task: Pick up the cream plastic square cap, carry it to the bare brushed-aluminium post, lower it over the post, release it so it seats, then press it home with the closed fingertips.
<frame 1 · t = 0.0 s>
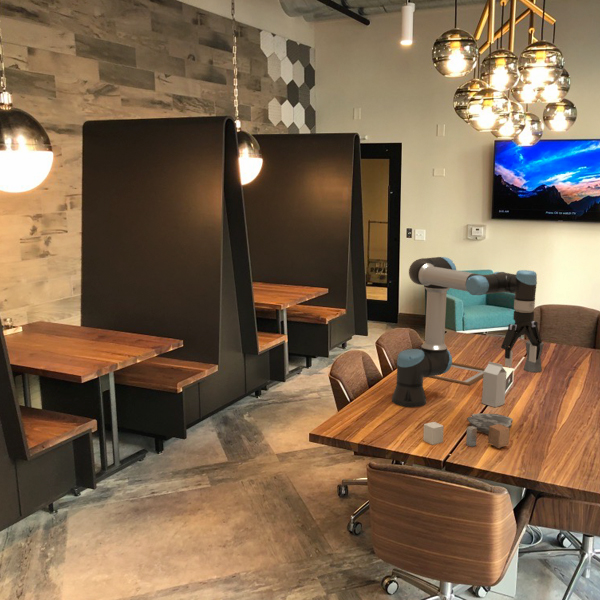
hand: (520, 364, 260), 28 cm above the table, fingers open, 13 cm apart
tan brown block: (498, 446, 250), on the table
coffeepot: (533, 371, 351), on the table
milk carton: (493, 404, 298), on the table
cap: (433, 441, 255), on the table
brain slice: (488, 428, 270), on the table
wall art: (447, 373, 347), on the table
post: (471, 445, 251), on the table
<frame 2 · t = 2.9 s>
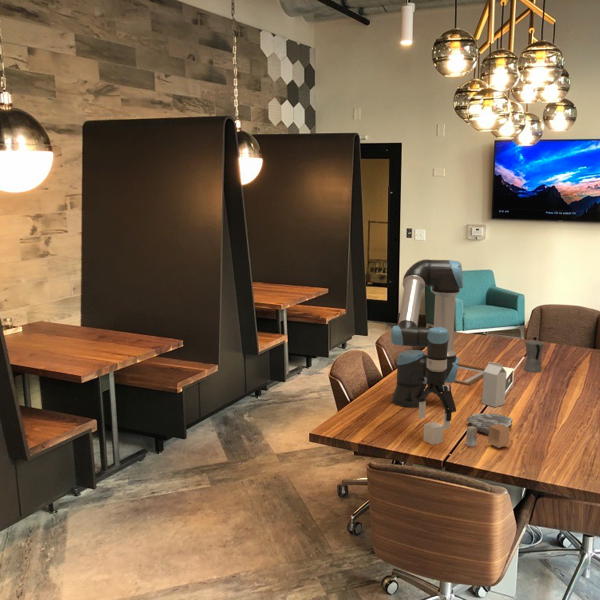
hand: (433, 423, 253), 7 cm above the table, fingers open, 13 cm apart
nothing on the table moved.
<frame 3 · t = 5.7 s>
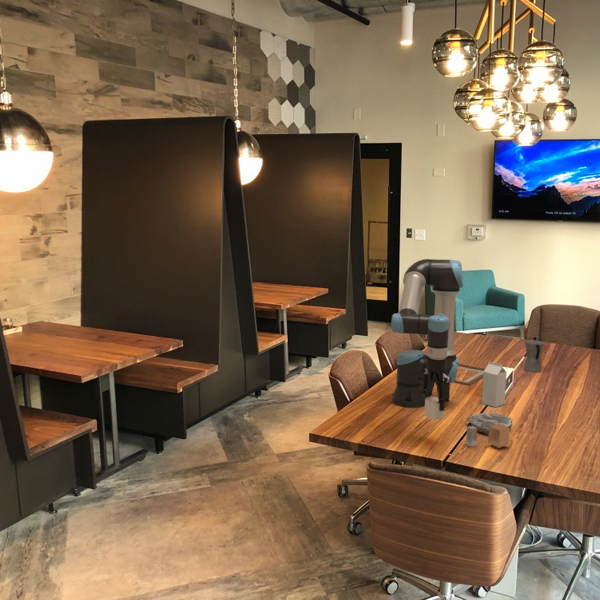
hand: (434, 415, 253), 10 cm above the table, fingers closed on cap, 5 cm apart
cap: (434, 416, 253), point 10 cm above the table, touching gripper
everything else where it was.
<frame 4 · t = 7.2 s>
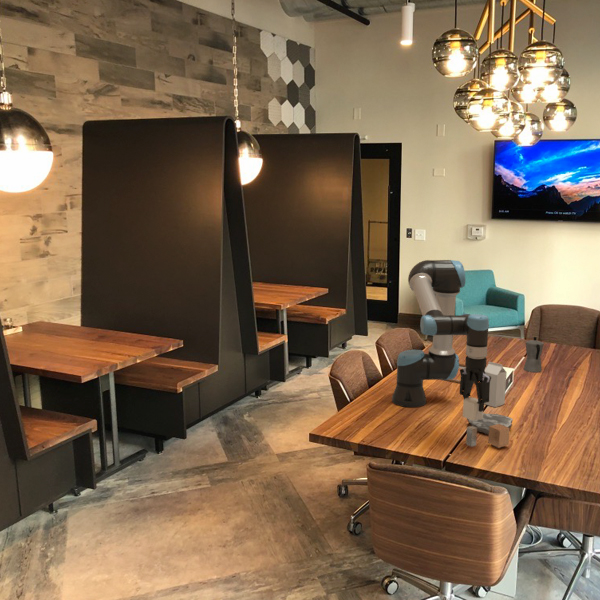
hand: (472, 416, 249), 11 cm above the table, fingers closed on cap, 5 cm apart
cap: (472, 417, 249), point 11 cm above the table, touching gripper
everything else where it was.
when the fingers open (2 cm above the table, at t = 9.0 s): cap stays where it is, resting on post.
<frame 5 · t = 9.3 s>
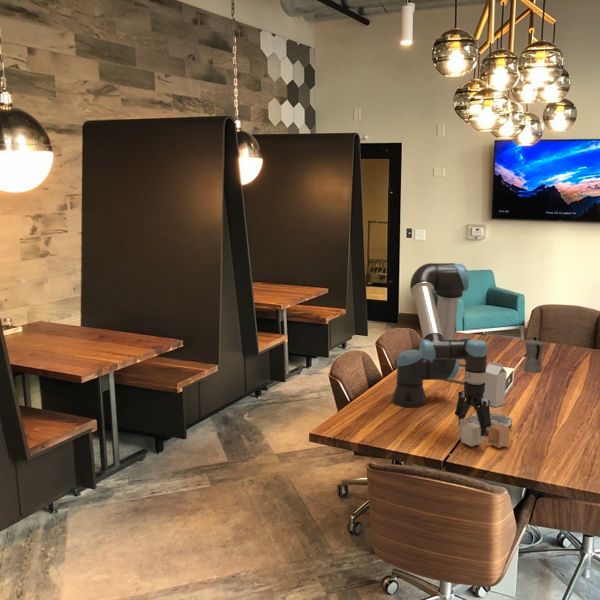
hand: (471, 439, 251), 2 cm above the table, fingers open, 9 cm apart
cap: (470, 442, 251), point 1 cm above the table, touching post
everything else where it was.
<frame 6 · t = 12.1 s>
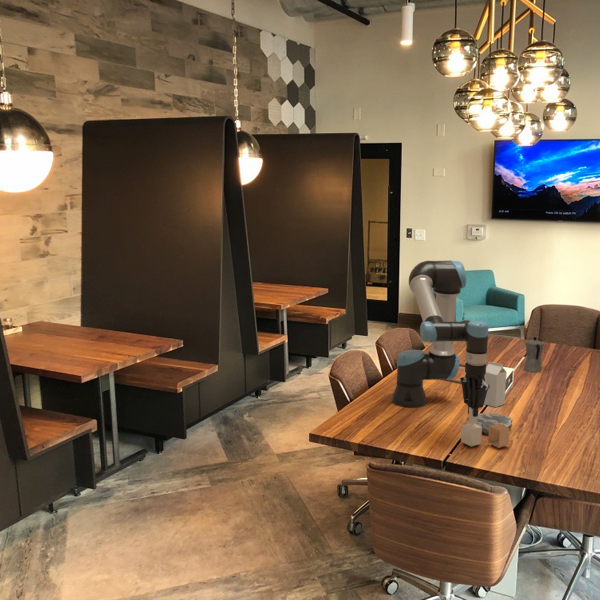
hand: (472, 423, 250), 9 cm above the table, fingers closed
nothing on the table moved.
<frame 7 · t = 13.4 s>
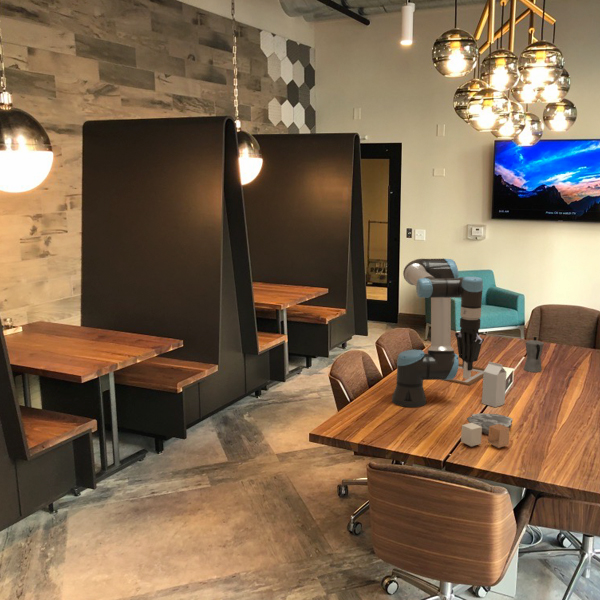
hand: (466, 377, 256), 24 cm above the table, fingers closed
nothing on the table moved.
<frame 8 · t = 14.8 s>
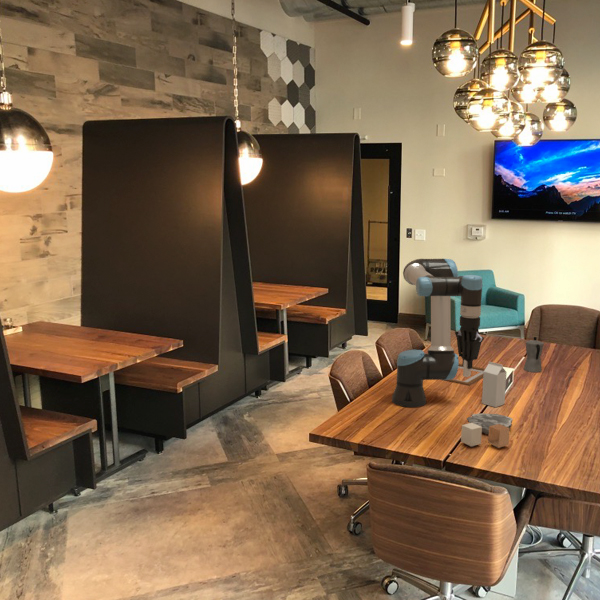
hand: (466, 376, 256), 24 cm above the table, fingers closed
nothing on the table moved.
at the end: cap 0.1 cm from the post (horizontally); cap point 1.0 cm above the table; the gripper is holding nothing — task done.
